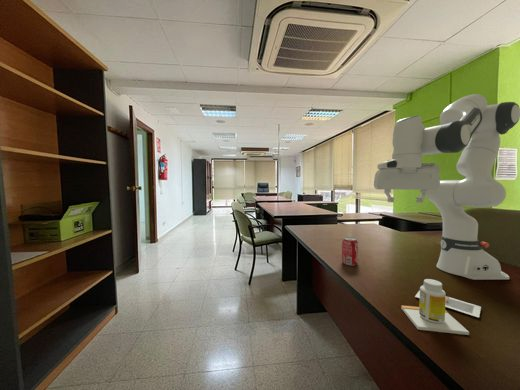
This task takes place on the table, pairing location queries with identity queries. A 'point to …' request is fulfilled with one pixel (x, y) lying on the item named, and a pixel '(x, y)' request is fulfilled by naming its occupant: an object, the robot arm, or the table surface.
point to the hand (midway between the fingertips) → (405, 202)
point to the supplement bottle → (432, 301)
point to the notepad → (421, 324)
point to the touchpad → (460, 306)
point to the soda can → (350, 251)
